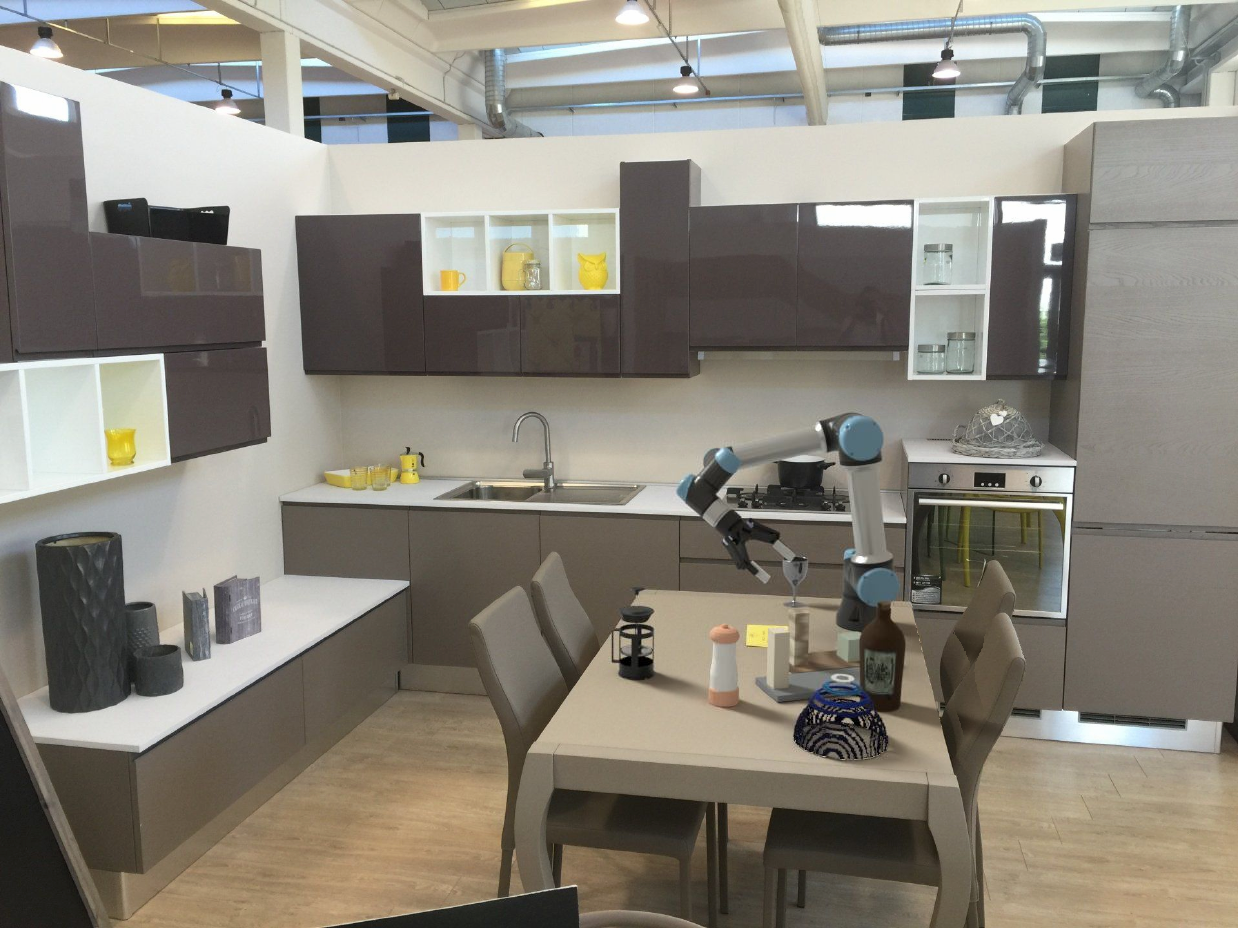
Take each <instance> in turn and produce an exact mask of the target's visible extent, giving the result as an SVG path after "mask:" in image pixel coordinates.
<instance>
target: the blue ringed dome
mask: <svg viewBox="0 0 1238 928" xmlns="http://www.w3.org/2000/svg"><path fill="white" fill-rule="evenodd" d="M837 677H847V678H848V679H849V680H839V679H837ZM854 679H855V678H854V677H853V676H851V675H846V674H834V675H832V676H831V680H832V681H828V682H826V683H825V684H823V685H822V687H823V688H820V689H818V690H817V691H816V692H815V694H814V695H813V696H812V697H811V698H810V699H808V704H807V705H806V706H805V707H803V709H802V711H801V712H800V713H799V715H798V716H797V719H796V721H795V724H794V727H793V735H792V738H793V737H794V738H793V742H794V741H795V740H796V742H795V745H796V744H797V745H796V746H798V745H799V746H798V747H799V748H801V747H802V748H805V750H808V751H809V752H813V753H814V752H815V753H816V754H819V755H822V756H827V757H828V755H830V754H831V753H835V755H836V756H837V757H838V758H840V759H851V754H852V759H859V757H858V752H859V756H860V759H863V758H867V757H869V758H870V757H873V756H876V755H879V754H881V752H883V750H884V751H886V752H887V749H886V747H887V748H888V746H887V744H888V745H889V735H888V734H887V733H888V732H887V727H886V726H885V722H884V721H883V720H884V719H883V718H882V716H881V715H880V714H879V713H878V712H879V711H875V710H873V709H874V704H873V701H871V698H870V697H869V696H868V695H867V694H866V693H865V692H863V691H861V690H862V688H861V687H860V685H857V684H856V683H853V681H854ZM837 682H839V683H850V684H852V685H855V686H856V687H857V688H853V687H849V686H841V685H840V686H838V685H836V686H829V684H830V683H837ZM836 688H837V689H848V690H852V691H838V690H834V689H836ZM822 690H825V691H823V692H820V691H822ZM860 693H862V694H863V695H860ZM825 694H836V695H837V696H845V697H846V696H852V697H855V698H859V699H860V698H862V699H864V700H861V701H860V700H858V701H857V700H855V699H849V698H843V697H841V698H840V697H839V698H838V697H837V698H833V699H826V697H821V696H820V695H825ZM814 699H815V700H816V701H817V702H818V703H820V704H822V705H821V706H820V705H818V704H817V703H816V702H815V701H814ZM869 703H871V706H870V709H869V708H868V709H867V708H866V707H865V705H867V704H869ZM815 711H816V713H815ZM872 712H874V713H872ZM828 717H829V718H828ZM824 718H825V719H824ZM832 718H833V719H834V720H832ZM846 719H849V720H850V721H851V722H852V723H851V722H844V720H846ZM843 723H844V724H843ZM826 724H829V725H834V726H840V727H841V728H839V727H832V726H828V725H826ZM851 726H853V727H851ZM806 727H809V728H808V729H806V732H805V731H804V730H805V728H806ZM817 727H818V729H817ZM855 727H859V728H862V729H866V728H868V729H867V730H869V731H870V730H871V731H870V735H869V745H868V746H867V744H866V741H865V739H864V738H863V737H862V736H861V734H860V733H858V731H857V730H856V728H855ZM816 729H817V730H816ZM827 730H828V731H832V732H839V733H843V734H839V733H832V732H826V731H827ZM823 731H824V732H823ZM849 731H851V732H852V733H854V735H855V736H853V734H852V733H850V732H849ZM804 732H805V733H804ZM822 732H823V733H822ZM820 733H821V735H820V736H818V734H820ZM808 736H809V738H807V737H808ZM815 736H818V737H817V738H815V739H814V737H815ZM881 736H882V737H881ZM856 737H857V738H858V739H859V740H858V739H857V738H856ZM848 738H849V739H851V741H852V742H854V746H857V749H858V752H857V750H855V749H856V748H855V747H854V746H853V745H852V744H851V742H850V740H849V739H848ZM812 739H814V740H812ZM832 739H833V740H832ZM834 739H835V740H836V741H835V740H834ZM884 739H885V740H884ZM825 740H826V741H825ZM811 741H812V743H811ZM839 741H840V742H839ZM859 741H860V742H861V744H863V746H862V745H861V744H860V742H859ZM821 742H822V743H821ZM841 742H842V743H843V744H842V743H841ZM810 743H811V745H809V744H810ZM820 743H821V744H820ZM818 744H819V745H818ZM828 744H831V745H836V746H837V745H838V747H841V749H842V750H844V752H845V755H847V758H845V756H844V754H843V752H842V750H840V749H839V748H834V747H829V746H828V747H827V745H828ZM800 745H801V747H800ZM804 745H805V746H804ZM808 745H809V746H808ZM845 745H846V746H847V747H848V748H849V749H850V750H849V749H848V748H847V747H846V746H845ZM825 746H826V747H825ZM823 747H825V748H824V749H823ZM802 748H801V749H802ZM868 748H869V751H868ZM821 749H823V750H822V753H821V754H820V750H821ZM805 750H804V751H805ZM864 751H865V754H866V756H865V757H864V754H863V753H864ZM873 751H874V755H873V754H872V752H873ZM809 752H808V753H809ZM881 755H882V754H881ZM879 756H880V755H879ZM876 757H877V756H876Z"/></svg>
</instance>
